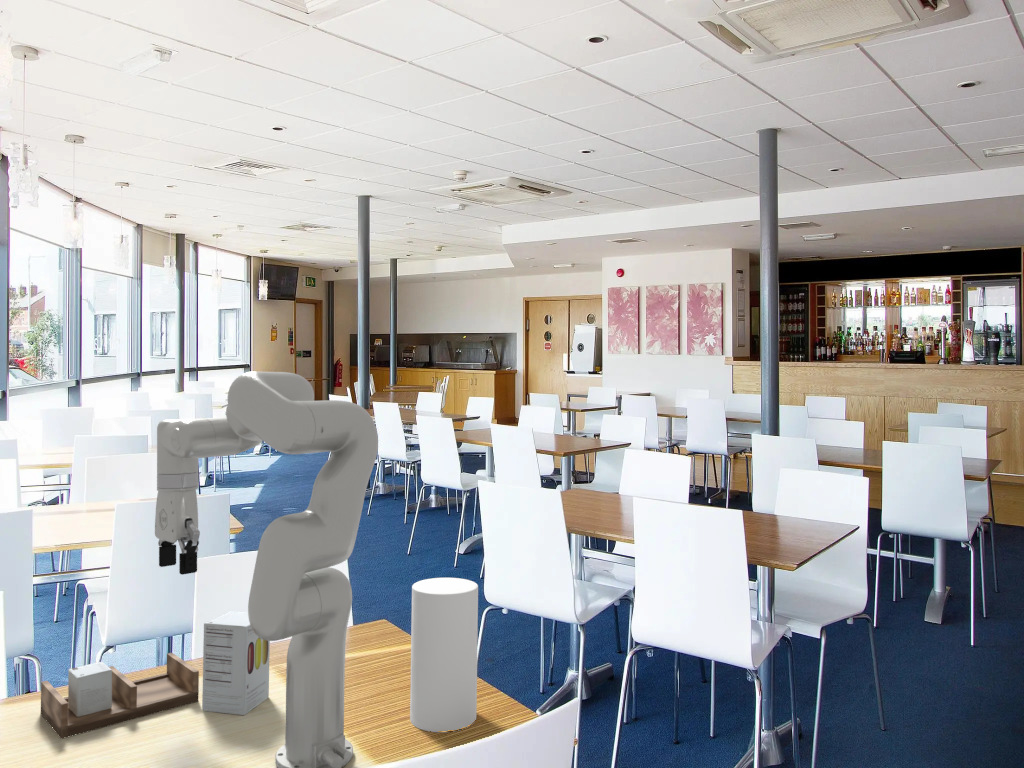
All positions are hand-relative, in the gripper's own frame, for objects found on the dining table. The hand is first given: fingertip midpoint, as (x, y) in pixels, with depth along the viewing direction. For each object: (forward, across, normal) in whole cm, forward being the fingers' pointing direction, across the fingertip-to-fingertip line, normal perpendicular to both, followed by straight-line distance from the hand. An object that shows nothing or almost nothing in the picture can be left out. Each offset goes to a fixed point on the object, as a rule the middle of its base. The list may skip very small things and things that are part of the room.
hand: (177, 569), depth 152 cm
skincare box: (+24, -5, -14) cm, 29 cm away
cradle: (+26, -5, -9) cm, 28 cm away
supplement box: (+26, +8, +8) cm, 29 cm away
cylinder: (+27, +41, +33) cm, 59 cm away
